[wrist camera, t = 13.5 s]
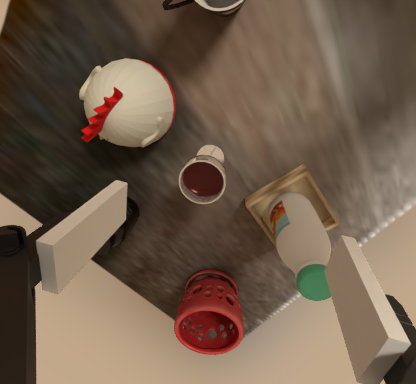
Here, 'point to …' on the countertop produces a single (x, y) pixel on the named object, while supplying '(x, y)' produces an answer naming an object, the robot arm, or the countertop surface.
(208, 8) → the coffee mug
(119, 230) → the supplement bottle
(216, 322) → the plant pot
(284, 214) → the milk bottle
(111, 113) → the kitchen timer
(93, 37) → the countertop surface
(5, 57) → the countertop surface
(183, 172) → the wineglass
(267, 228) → the wooden tray
